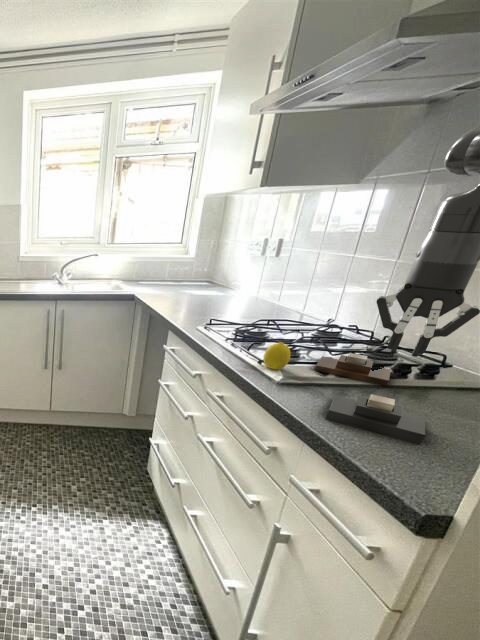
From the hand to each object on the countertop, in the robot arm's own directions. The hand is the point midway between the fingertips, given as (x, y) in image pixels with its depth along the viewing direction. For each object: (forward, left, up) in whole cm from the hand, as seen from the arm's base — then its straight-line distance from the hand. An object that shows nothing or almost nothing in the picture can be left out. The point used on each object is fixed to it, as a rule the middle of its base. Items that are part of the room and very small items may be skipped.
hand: (403, 353), depth 79 cm
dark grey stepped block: (0, 0, -15) cm, 15 cm away
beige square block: (+6, -30, -11) cm, 33 cm away
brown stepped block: (+6, -30, -15) cm, 34 cm away
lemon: (+21, -19, -15) cm, 32 cm away
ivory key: (0, 0, -11) cm, 11 cm away
